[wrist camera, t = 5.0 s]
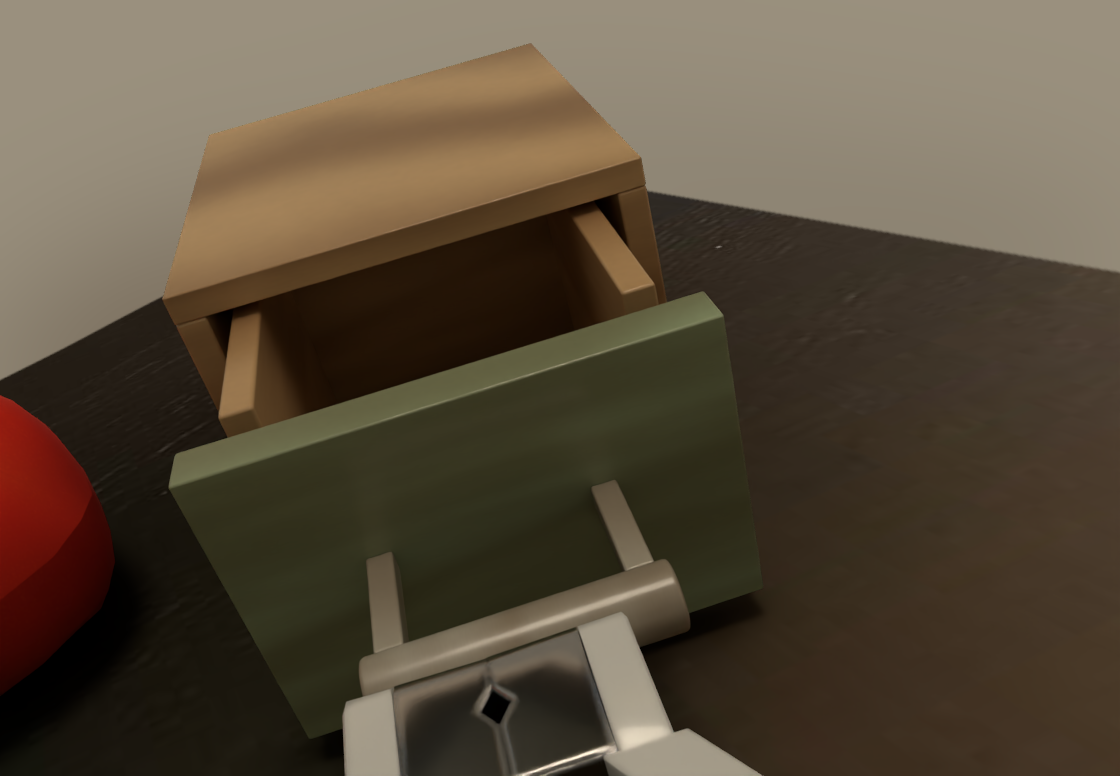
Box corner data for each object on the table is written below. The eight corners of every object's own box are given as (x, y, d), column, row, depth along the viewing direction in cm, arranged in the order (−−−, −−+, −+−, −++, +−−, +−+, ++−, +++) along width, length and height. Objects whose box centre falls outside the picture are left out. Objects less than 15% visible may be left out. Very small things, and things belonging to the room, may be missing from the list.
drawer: (844, 724, 20) (815, 424, 16) (310, 909, 20) (136, 643, 15) (616, 338, 35) (570, 129, 31) (306, 433, 34) (217, 232, 30)
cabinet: (694, 449, 31) (641, 157, 25) (298, 575, 30) (161, 299, 24) (582, 264, 43) (531, 42, 38) (300, 350, 42) (208, 134, 37)
